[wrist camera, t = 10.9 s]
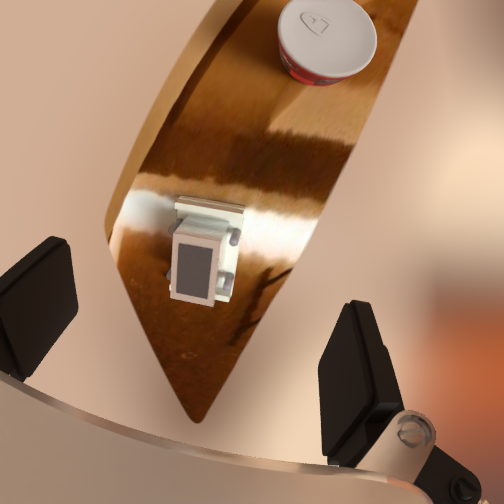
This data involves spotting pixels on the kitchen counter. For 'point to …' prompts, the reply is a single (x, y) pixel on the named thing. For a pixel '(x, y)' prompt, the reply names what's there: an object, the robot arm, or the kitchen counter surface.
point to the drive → (198, 259)
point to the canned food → (325, 40)
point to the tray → (236, 219)
